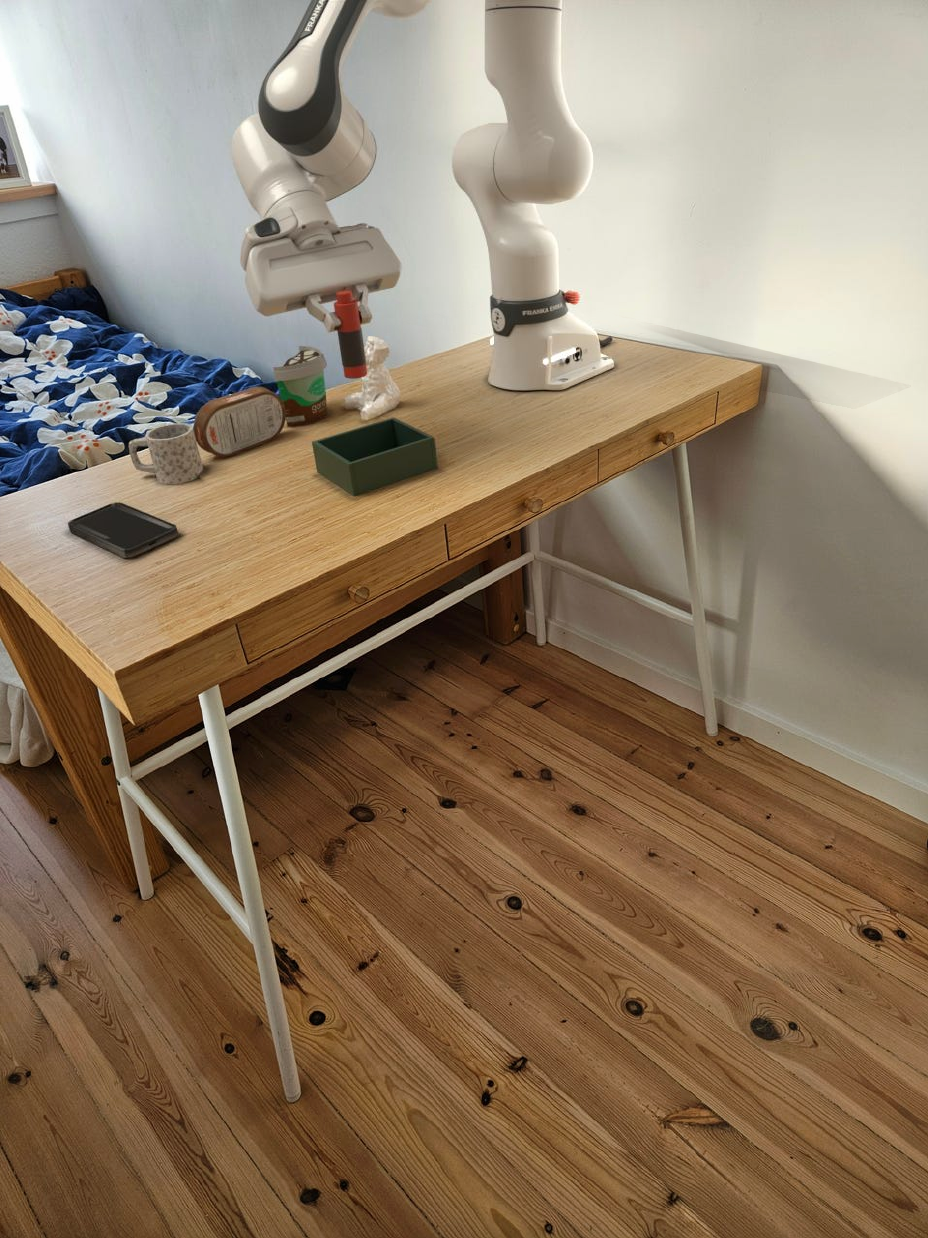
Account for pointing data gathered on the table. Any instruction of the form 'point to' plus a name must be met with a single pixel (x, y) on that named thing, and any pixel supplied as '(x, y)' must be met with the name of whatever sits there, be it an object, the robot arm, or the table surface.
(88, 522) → the phone
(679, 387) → the table surface
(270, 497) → the table surface
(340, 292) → the red and grey bottle
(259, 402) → the tin
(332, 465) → the dark green open box
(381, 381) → the seated beast figurine
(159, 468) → the mug
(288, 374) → the food container
